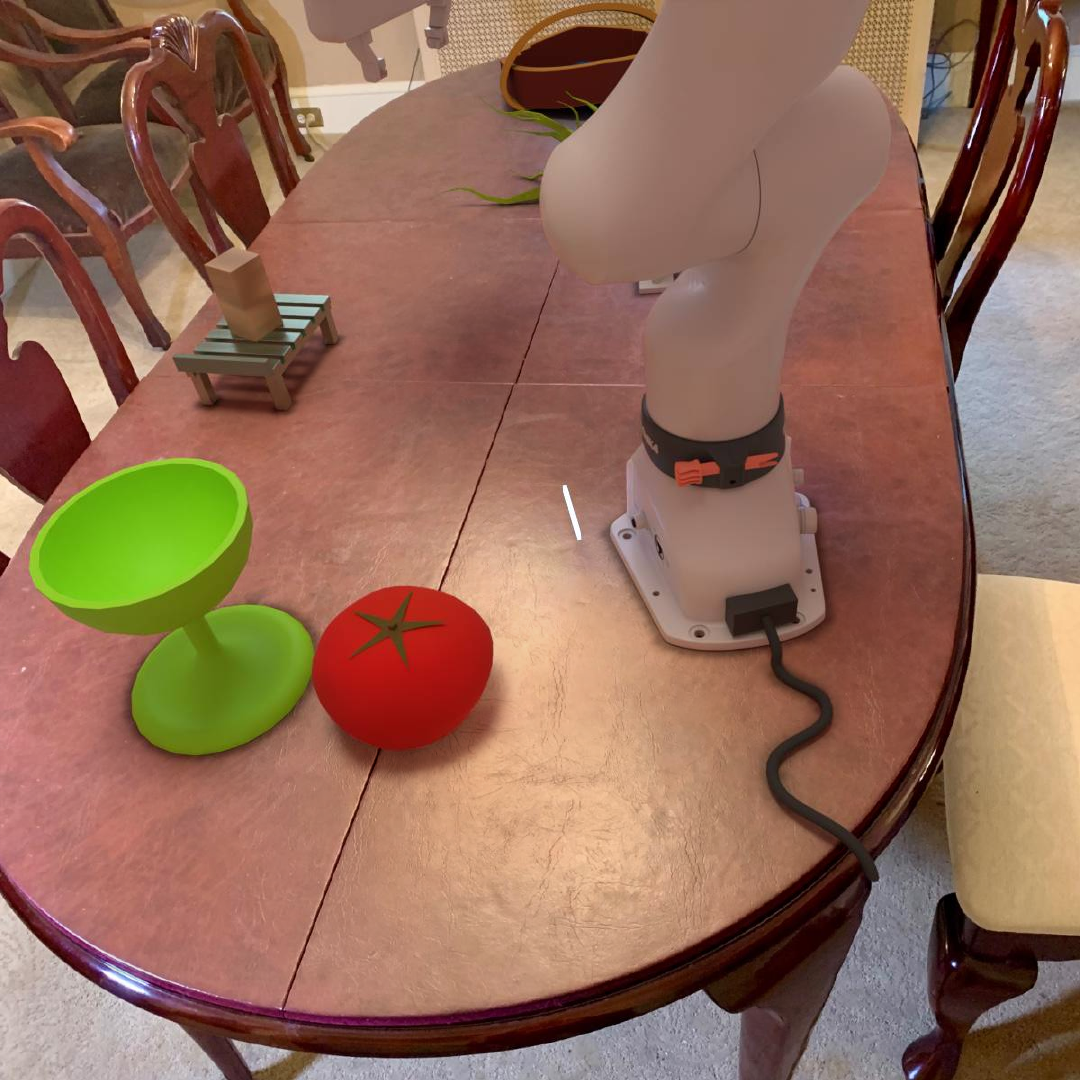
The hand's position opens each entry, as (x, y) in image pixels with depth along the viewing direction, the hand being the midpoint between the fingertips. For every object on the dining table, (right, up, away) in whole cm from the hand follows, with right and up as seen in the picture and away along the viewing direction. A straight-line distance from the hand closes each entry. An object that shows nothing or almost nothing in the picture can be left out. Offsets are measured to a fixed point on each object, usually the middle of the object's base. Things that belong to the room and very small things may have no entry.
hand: (408, 62), depth 92 cm
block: (-21, -21, +20) cm, 36 cm away
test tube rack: (+29, -7, +37) cm, 47 cm away
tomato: (+3, -60, -14) cm, 62 cm away
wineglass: (-15, -59, -10) cm, 61 cm away
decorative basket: (+23, +35, +80) cm, 90 cm away
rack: (-20, -26, +25) cm, 41 cm away
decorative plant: (+14, +5, +51) cm, 53 cm away
